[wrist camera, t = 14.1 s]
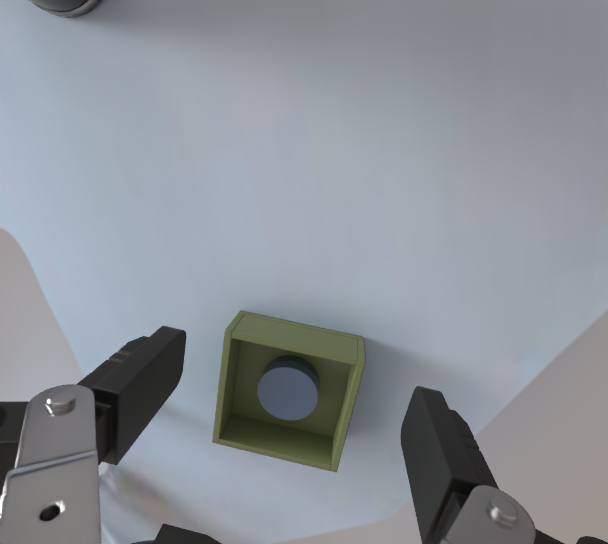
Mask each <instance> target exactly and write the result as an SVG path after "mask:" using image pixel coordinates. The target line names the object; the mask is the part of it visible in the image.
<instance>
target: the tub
mask: <svg viewBox="0 0 608 544" xmlns="http://www.w3.org/2000/svg"><path fill="white" fill-rule="evenodd" d="M287 355H289V356H297V357H300V358H302V359H304V360H306V361H308V362H309V363H310V364H311V365H312V366H313V367H314V368H315V369H316V371H317V373H318V375H319V378H320V389H319V397H318V402H317V405H316V407H315V409H314V410H313V411H312V413H310V414H309V415H308V416H306V417H304V418H302V419H299V420H291V421H290V420H282V419H279V418H277V417H274V416H273V415H271V414H270V413H268V412H267V411H266V410H265V409H264V408H263V406H262V405H261V403H260V401H259V399H258V395H257V387H258V383H259V381H260V379H261V376H262V374H263V371H264V369H265V367H266V366H267V365H268V363H270V362H271V361H272V360H274V359H275V358H278V357H281V356H287ZM364 365H365V350H364V338H363V337H361V336H356V335H352V334H347V333H342V332H338V331H333V330H328V329H324V328H319V327H314V326H310V325H305V324H300V323H296V322H291V321H286V320H282V319H277V318H272V317H268V316H263V315H258V314H254V313H249V312H244V311H240V312H239V313H238V314H237V316H236V317H235V318H234V319H233V321H232V322H231V323H230V325H229V326H228V327H227V328H226V330H225V335H224V344H223V352H222V361H221V370H220V379H219V388H218V396H217V405H216V414H215V423H214V431H213V440H212V442H213V443H217V444H218V443H219V444H221V445H225V446H229V447H233V448H237V449H242V450H246V451H250V452H254V453H258V454H262V455H266V456H270V457H274V458H279V459H283V460H287V461H291V462H295V463H299V464H303V465H307V466H312V467H316V468H320V469H324V470H328V471H333V472H337V469H338V465H339V461H340V458H341V454H342V450H343V446H344V442H345V438H346V435H347V431H348V427H349V423H350V419H351V415H352V411H353V408H354V404H355V400H356V396H357V392H358V388H359V384H360V381H361V377H362V373H363V369H364Z"/></svg>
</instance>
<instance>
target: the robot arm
mask: <svg viewBox="0 0 608 544" xmlns="http://www.w3.org/2000/svg"><path fill="white" fill-rule="evenodd" d="M29 1H31V2H32V3H33V4H35V5H36V6H38V7H40V8H41V9H43V10H45V11H47V12H49V13H51V14H54V15H57V16H61V17H75V16H79V15H82V14H84V13H86V12H88V11H89V10H91V9H92V8H93V7H94V6H95V5H96V4H97V3H98V2H99V1H100V0H29ZM185 344H186V332H185V331H184V330H180V329H175V328H171V327H167V326H162V327H161V328H159V329H158V330H157V331H156V332H155V333H154V334H152V335H151V336H150V337H145V336H143V337H140V338H138V339H135V340H133V341H130V342H128V343H127V344H126V345H125V346H123V347H122V348H121V349H120V350H118V352H117V353H115V354H113V355H112V356H111V357H110V358H109V360H106V361H105V362H104V363H102V364H101V365H100V366H99V367H97V368H96V369H95V370H94V371H92V372H91V373H90V374H89V375H87V376H86V377H85V378H84V379H83V380H81V381H80V382H79V383H78V384H76V385H62V386H57V387H53V388H50V389H47V390H45V391H43V392H41V393H39V394H38V395H36V396H35V397H34V398H33V399H32V400H31V401H30V402H0V496H1V501H0V544H101V522H100V497H99V473H98V466H99V465H100V463H101V462H102V461H103V462H106V463H110V464H114V465H117V464H118V463H119V462H120V460H121V459H122V458H123V456H124V455H125V454H126V452H127V451H128V450H129V448H130V447H131V446H132V445H133V443H134V442H135V441H136V439H137V438H138V437H139V435H140V434H141V433H142V431H143V430H144V429H145V428H146V426H147V425H148V424H149V422H150V421H151V420H152V418H153V417H154V416H155V414H156V413H157V412H158V410H159V409H160V408H161V407H162V405H163V404H164V403H165V401H166V400H167V399H168V397H169V396H170V395H171V393H172V392H173V391H174V390H175V388H176V387H177V385H178V383H179V381H180V378H181V375H182V371H183V363H184V353H185ZM401 445H402V450H403V455H404V459H405V464H406V469H407V474H408V478H409V483H410V488H411V493H412V498H413V502H414V507H415V512H416V517H417V521H418V526H419V531H420V536H421V540H422V544H564V543H562V542H560V541H558V540H556V539H554V538H552V537H550V536H548V535H546V534H544V533H542V532H541V531H539V530H537V529H535V526H534V523H533V521H532V519H531V518H530V516H529V514H528V513H527V511H526V510H525V509H524V508H523V507H522V506H521V505H520V504H519V503H518V502H517V501H516V500H515V499H514V498H512V497H511V496H509V495H508V494H506V493H505V492H503V491H501V490H499V488H498V486H497V484H496V482H495V480H494V478H493V476H492V474H491V471H490V469H489V468H488V465H487V463H486V461H485V459H484V457H483V455H482V453H481V451H479V447H478V445H477V443H476V441H475V440H474V436H473V434H472V432H471V430H470V428H469V426H468V424H467V423H466V422H465V421H464V420H463V418H462V417H461V416H460V415H459V414H458V413H457V412H456V411H454V410H450V409H449V408H448V405H447V403H446V401H445V399H444V396H443V394H442V393H441V392H440V391H436V390H432V389H428V388H424V387H419V386H417V387H416V388H415V390H414V392H413V395H412V398H411V401H410V403H409V406H408V409H407V412H406V415H405V418H404V421H403V424H402V428H401ZM132 544H221V543H219V542H218V541H216V540H214V539H213V538H211V537H210V536H208V535H205V534H201V533H197V532H193V531H190V530H186V529H182V528H178V527H174V526H171V525H167V524H163V525H162V527H161V529H160V531H159V533H158V535H157V537H156V539H155V540H150V541H142V542H136V543H132ZM576 544H608V543H607V542H605V541H603V540H600V539H597V538H594V537H588V536H585V537H581V538H580V539H579V540H578V541H577V543H576Z"/></svg>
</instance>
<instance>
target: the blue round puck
mask: <svg viewBox="0 0 608 544" xmlns="http://www.w3.org/2000/svg"><path fill="white" fill-rule="evenodd" d="M319 389H320V378H319V375H318V373H317V371H316V369H315V368H314V367H313V366H312V365H311V364H310V363H309V362H308V361H306V360H304V359H302V358H300V357H297V356H289V355H287V356H281V357H278V358H275V359H274V360H272V361H271V362H270V363H268V365H267V366H266V367H265V369H264V371H263V374H262V376H261V379H260V381H259V383H258V387H257V395H258V399H259V401H260V403H261V405H262V406H263V408H264V409H265V410H266V411H267V412H268V413H270V414H271V415H273V416H274V417H277V418H279V419H282V420H290V421H291V420H299V419H302V418H304V417H306V416H308V415H309V414H310V413H312V411H313V410H314V409H315V407H316V405H317V402H318V397H319Z"/></svg>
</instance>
